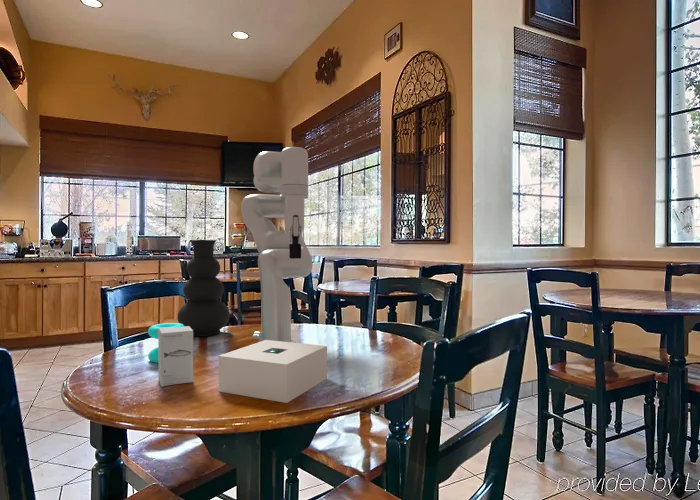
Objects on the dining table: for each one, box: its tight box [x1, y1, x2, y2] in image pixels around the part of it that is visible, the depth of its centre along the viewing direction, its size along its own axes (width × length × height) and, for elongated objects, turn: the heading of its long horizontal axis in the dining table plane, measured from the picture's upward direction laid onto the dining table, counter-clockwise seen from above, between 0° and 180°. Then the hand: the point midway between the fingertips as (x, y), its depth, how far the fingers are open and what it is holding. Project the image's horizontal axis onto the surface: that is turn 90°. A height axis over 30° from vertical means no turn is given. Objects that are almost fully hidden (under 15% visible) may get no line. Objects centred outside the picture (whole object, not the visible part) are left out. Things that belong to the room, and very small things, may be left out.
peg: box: [266, 349, 284, 354], centre depth 102 cm, size 4×4×8 cm
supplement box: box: [157, 326, 194, 387], centre depth 105 cm, size 7×7×13 cm
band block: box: [217, 340, 328, 404], centre depth 102 cm, size 18×18×8 cm
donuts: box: [147, 322, 185, 364], centre depth 125 cm, size 10×10×10 cm
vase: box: [177, 239, 231, 337], centre depth 161 cm, size 18×18×35 cm
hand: (295, 258), depth 121 cm, fingers closed
